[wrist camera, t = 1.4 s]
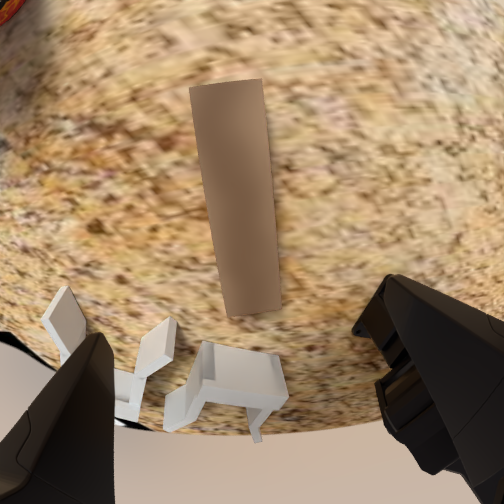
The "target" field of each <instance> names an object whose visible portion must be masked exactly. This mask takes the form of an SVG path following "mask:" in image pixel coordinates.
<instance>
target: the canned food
mask: <svg viewBox="0 0 504 504" xmlns="http://www.w3.org/2000/svg"><path fill="white" fill-rule="evenodd" d="M24 2H25V0H0V26H1V25H3V24H4V23H5V22H6V21H8V20H9V19H10V18H11V17H12V16H13V15H14V14H15V13H16V12H17V11H18V9H19V8H20V7H21V6H22V5H23V3H24Z"/></svg>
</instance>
